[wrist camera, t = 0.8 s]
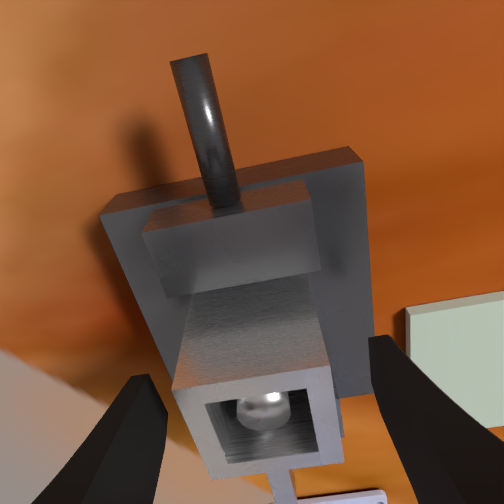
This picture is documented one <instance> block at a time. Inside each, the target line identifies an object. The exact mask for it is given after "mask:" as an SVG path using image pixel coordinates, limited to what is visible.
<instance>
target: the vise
mask: <svg viewBox="0 0 504 504" xmlns="http://www.w3.org/2000/svg"><path fill="white" fill-rule="evenodd" d="M170 66H171V69H172V73H173V76H174V80H175V83H176V87H177V90H178V94H179V98H180V101H181V105H182V108H183V112H184V115H185V119H186V122H187V126H188V129H189V133H190V137H191V140H192V144H193V147H194V151H195V154H196V158H197V161H198V165H199V168H200V172H201V176H202V177H199V178H194V179H189V180H184V181H180V182H175V183H170V184H165V185H160V186H156V187H151V188H146V189H141V190H136V191H132V192H127V193H122V194H117V195H116V196H115V197H114V198H113V199H112V200H111V202H110V203H109V204H108V205H107V206H106V207H105V209H104V210H103V211H102V212H101V213H100V215H99V217H100V219H101V222H102V224H103V226H104V228H105V231H106V233H107V235H108V237H109V240H110V242H111V244H112V246H113V249H114V251H115V253H116V255H117V258H118V260H119V262H120V264H121V267H122V269H123V271H124V273H125V276H126V278H127V280H128V282H129V285H130V287H131V289H132V291H133V294H134V296H135V298H136V301H137V303H138V305H139V307H140V310H141V312H142V314H143V316H144V319H145V321H146V323H147V325H148V328H149V330H150V332H151V334H152V337H153V339H154V341H155V343H156V346H157V348H158V350H159V352H160V355H161V357H162V359H163V361H164V364H165V366H166V368H167V370H168V373H169V375H170V377H171V379H172V382H173V380H174V375H175V370H176V366H177V361H178V357H179V352H180V347H181V343H182V338H183V333H184V329H185V324H186V319H187V315H188V310H189V305H190V301H191V296H192V294H193V293H198V292H204V291H209V290H215V289H220V288H226V287H231V286H237V285H243V284H248V283H254V282H259V281H265V280H270V279H276V278H281V277H287V276H292V275H298V274H303V273H306V274H307V278H308V282H309V286H310V290H311V293H312V297H313V301H314V305H315V309H316V313H317V317H318V320H319V324H320V328H321V332H322V336H323V340H324V344H325V347H326V351H327V355H328V359H329V363H330V368H331V375H332V381H333V388H334V395H335V402H336V409H337V415H338V422H339V429H340V436H341V437H344V431H343V424H342V416H341V409H340V402H339V398H345V397H351V396H358V395H365V394H371V393H374V390H373V387H372V384H371V374H370V360H369V347H368V338H369V337H375V336H374V321H373V305H372V289H371V274H370V258H369V242H368V227H367V211H366V195H365V179H364V164H363V160H362V159H361V158H360V157H359V156H358V155H357V154H356V153H355V152H354V151H353V150H352V149H351V148H350V147H349V146H347V147H342V148H338V149H333V150H328V151H323V152H318V153H314V154H309V155H304V156H299V157H294V158H290V159H285V160H280V161H275V162H271V163H266V164H261V165H256V166H251V167H247V168H242V169H237V170H235V168H234V164H233V160H232V156H231V151H230V147H229V143H228V139H227V134H226V130H225V126H224V122H223V117H222V113H221V109H220V105H219V100H218V96H217V92H216V88H215V83H214V79H213V75H212V71H211V66H210V62H209V58H208V54H207V53H204V54H200V55H196V56H191V57H187V58H183V59H179V60H175V61H171V62H170ZM290 414H291V411H290V403H289V394H288V391H285V392H278V393H272V394H265V395H259V396H252V397H246V398H239V399H237V418H238V420H239V422H240V423H241V424H242V425H244V426H245V427H247V428H249V429H252V430H256V431H270V430H274V429H277V428H279V427H281V426H283V425H284V424H285V423H286V422H287V421H288V420H289V418H290Z"/></svg>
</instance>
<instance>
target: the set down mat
mask: <svg viewBox="0 0 504 504" xmlns="http://www.w3.org/2000/svg"><path fill="white" fill-rule="evenodd" d="M406 355H407V356H408V357H409V358H410V359H411V360H412V361H413V362H414V363H415V364H416V365H417V366H418V367H419V368H420V369H421V370H422V371H423V372H424V373H425V374H426V375H427V376H428V377H429V378H430V379H431V380H432V381H433V382H434V383H435V384H436V385H437V386H438V387H439V388H440V389H441V390H442V391H443V392H444V393H445V394H446V395H448V396H449V397H450V398H451V399H452V400H453V401H454V402H455V403H457V404H458V405H459V406H460V407H461V408H462V409H463V410H465V411H466V412H467V413H468V414H469V415H470V416H472V417H473V418H474V419H475V420H476V421H478V422H479V423H480V424H481V425H483V426H484V427H485V428H490V427H497V426H504V291H500V292H494V293H488V294H482V295H476V296H470V297H464V298H458V299H452V300H446V301H440V302H434V303H429V304H423V305H417V306H411V307H406Z"/></svg>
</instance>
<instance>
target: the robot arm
mask: <svg viewBox="0 0 504 504" xmlns="http://www.w3.org/2000/svg"><path fill="white" fill-rule="evenodd" d="M368 347H369V360H370V374H371V384H372V387H373V390H374V393H375V397H376V400H377V403H378V406H379V409H380V413H381V415H382V418H383V420H384V422H385V425H386V427H387V430H388V432H389V434H390V437H391V439H392V441H393V444H394V446H395V448H396V450H397V453H398V455H399V457H400V460H401V462H402V464H403V467H404V469H405V471H406V474H407V476H408V478H409V481H410V483H411V485H412V488H413V490H414V493H415V495H416V498H417V501H418V503H419V504H504V442H503V441H502V440H501V439H499V438H498V437H497V436H495V435H494V434H493V433H492V432H490V431H489V430H488V429H486V428H485V427H484V426H483V425H481V424H480V423H479V422H478V421H476V420H475V419H474V418H473V417H472V416H470V415H469V414H468V413H467V412H466V411H465V410H463V409H462V408H461V407H460V406H459V405H458V404H457V403H455V402H454V401H453V400H452V399H451V398H450V397H449V396H448V395H446V394H445V393H444V392H443V391H442V390H441V389H440V388H439V387H438V386H437V385H436V384H435V383H434V382H433V381H432V380H431V379H430V378H429V377H428V376H427V375H426V374H425V373H424V372H423V371H422V370H421V369H420V368H419V367H418V366H417V365H416V364H415V363H414V362H413V361H412V360H411V359H410V358H409V357H408V356H407V355H406V353H405V352H404V351H403V350H402V349H401V348H400V347H399V346H398V344H397V343H396V342H395V341H394V340H393V338H392V337H391V336H389V335H381V336H375V337H369V338H368ZM167 421H168V412H167V410H166V408H165V406H164V404H163V402H162V400H161V398H160V396H159V394H158V392H157V390H156V388H155V386H154V383H153V381H152V379H151V377H150V375H149V374H143V375H137V376H131V377H130V379H129V380H128V382H127V383H126V384H125V386H124V387H123V388H122V390H121V391H120V393H119V394H118V395H117V397H116V398H115V400H114V401H113V402H112V404H111V405H110V407H109V408H108V410H107V411H106V412H105V414H104V415H103V417H102V418H101V419H100V421H99V422H98V423H97V425H96V426H95V428H94V429H93V430H92V432H91V433H90V434H89V436H88V437H87V438H86V440H85V441H84V442H83V443H82V445H81V446H80V447H79V448H78V450H77V451H76V452H75V453H74V455H73V456H72V457H71V458H70V460H69V461H68V462H67V464H66V465H65V466H64V467H63V469H62V470H61V471H60V472H59V473H58V474H57V475H56V477H55V478H54V479H53V480H52V482H50V484H49V485H48V486H47V487H46V488H45V489H44V490H43V491H42V492H41V494H40V495H39V496H38V497H37V498H36V499H35V500H34V501H33V502H32V503H31V504H153V500H154V496H155V491H156V487H157V482H158V477H159V473H160V468H161V463H162V459H163V454H164V449H165V442H166V433H167ZM270 504H276V503H270ZM297 504H387V497H386V493H385V492H384V491H383V490H371V491H363V492H355V493H347V494H339V495H331V496H324V497H316V498H308V499H300V500H297Z"/></svg>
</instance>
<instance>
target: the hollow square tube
mask: <svg viewBox="0 0 504 504" xmlns="http://www.w3.org/2000/svg"><path fill="white" fill-rule="evenodd" d="M171 391H172V393H173V395H174V398H175V400H176V402H177V404H178V406H179V409H180V411H181V413H182V415H183V418H184V420H185V422H186V424H187V426H188V429H189V431H190V433H191V435H192V437H193V440H194V442H195V444H196V446H197V448H198V451H199V453H200V455H201V457H202V459H203V462H204V464H205V466H206V468H207V470H208V473H209V475H210V477H211V479H212V480H215V479H223V478H231V477H238V476H245V475H253V474H260V473H266V474H267V477H268V480H269V483H270V486H271V489H272V493H273V496H274V499H275V502H276V504H297V495H296V486H295V477H294V471H293V469H297V468H305V467H312V466H319V465H327V464H334V463H342V462H344V456H343V449H342V443H341V436H340V429H339V422H338V415H337V409H336V402H335V395H334V388H333V381H332V375H331V368H330V363H329V359H328V355H327V351H326V347H325V344H324V340H323V336H322V332H321V328H320V324H319V320H318V317H317V313H316V309H315V305H314V301H313V297H312V293H311V290H310V286H309V282H308V278H307V274H306V273H303V274H298V275H292V276H287V277H281V278H276V279H270V280H265V281H259V282H254V283H248V284H243V285H237V286H231V287H226V288H220V289H215V290H209V291H204V292H198V293H193V294H192V296H191V301H190V305H189V310H188V315H187V319H186V324H185V329H184V333H183V338H182V343H181V347H180V352H179V357H178V361H177V366H176V370H175V375H174V380H173V384H172V389H171ZM285 391H288V394H289V403H290V411H291V414H290V418H289V420H288V421H287V422H286V423H285V424H284V425H283V426H281V427H279V428H277V429H274V430H270V431H256V430H252V429H249V428H247V427H245V426H244V425H242V424H241V423H240V422H239V420H238V418H237V399H239V398H246V397H252V396H259V395H265V394H272V393H278V392H285Z"/></svg>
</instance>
